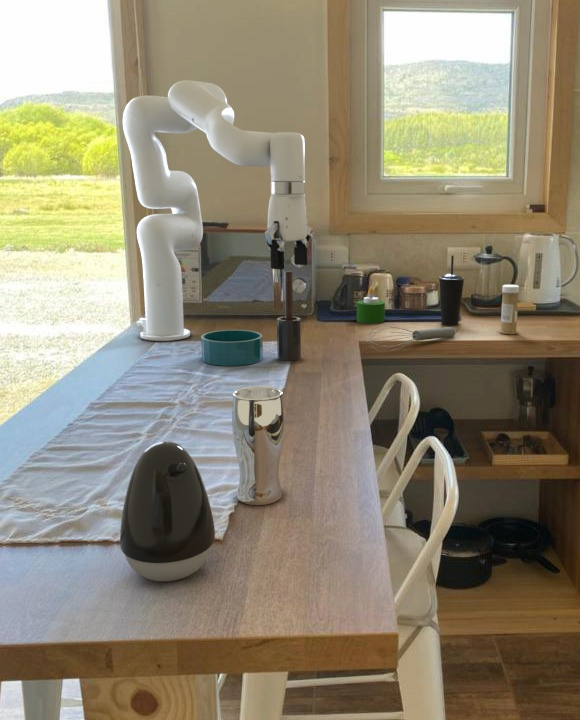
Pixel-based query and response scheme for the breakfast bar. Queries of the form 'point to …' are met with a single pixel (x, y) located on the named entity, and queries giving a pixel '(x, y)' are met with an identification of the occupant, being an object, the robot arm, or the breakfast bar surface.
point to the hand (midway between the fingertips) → (289, 266)
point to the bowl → (232, 347)
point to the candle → (370, 309)
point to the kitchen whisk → (420, 335)
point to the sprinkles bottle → (509, 309)
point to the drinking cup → (450, 296)
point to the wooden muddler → (288, 295)
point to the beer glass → (258, 442)
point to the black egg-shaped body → (166, 515)
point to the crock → (288, 339)
